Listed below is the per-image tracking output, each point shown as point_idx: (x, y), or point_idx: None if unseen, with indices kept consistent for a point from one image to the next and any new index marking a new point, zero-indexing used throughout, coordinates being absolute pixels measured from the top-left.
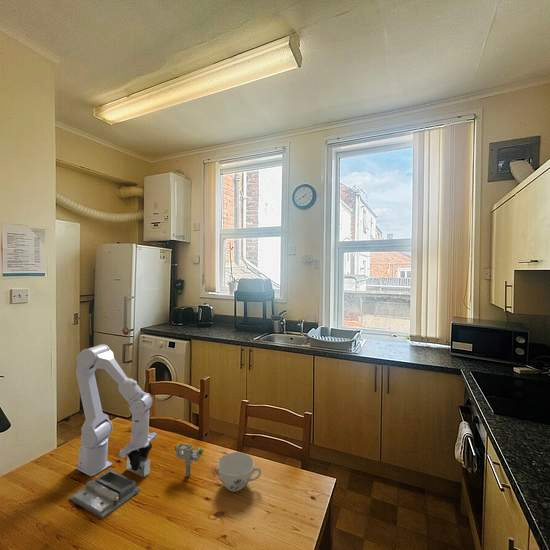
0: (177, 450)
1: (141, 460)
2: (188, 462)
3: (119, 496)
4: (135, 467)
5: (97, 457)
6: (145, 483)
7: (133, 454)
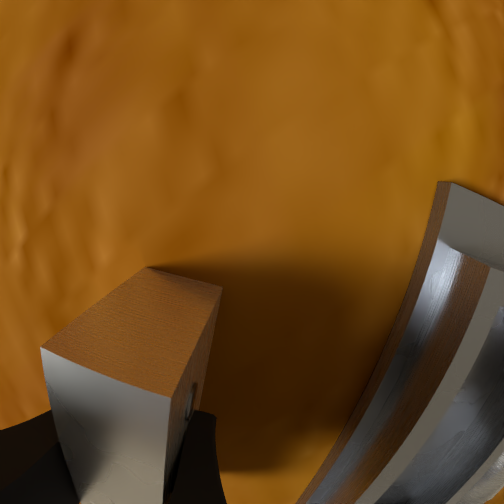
0: None
1: (142, 467)
2: None
3: None
4: (214, 448)
5: None
6: (317, 199)
7: None
